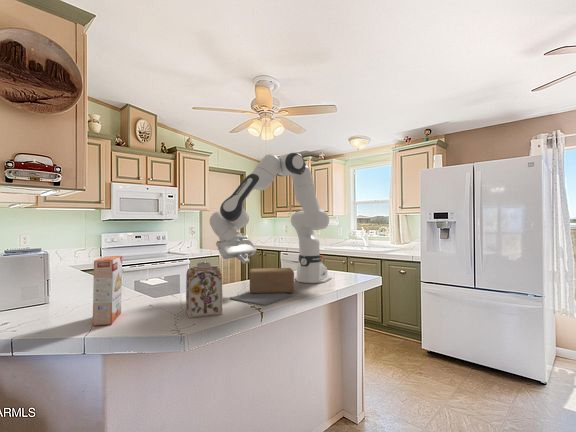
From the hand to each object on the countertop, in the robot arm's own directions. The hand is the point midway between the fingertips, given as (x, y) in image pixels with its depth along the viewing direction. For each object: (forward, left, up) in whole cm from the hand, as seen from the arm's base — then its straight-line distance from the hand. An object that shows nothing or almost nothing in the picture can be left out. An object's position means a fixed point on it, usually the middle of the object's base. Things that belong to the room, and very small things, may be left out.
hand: (246, 262), depth 142 cm
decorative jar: (+29, +5, -15) cm, 33 cm away
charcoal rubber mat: (0, +9, -14) cm, 17 cm away
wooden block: (-3, -1, -9) cm, 9 cm away
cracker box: (+53, -15, -15) cm, 57 cm away
